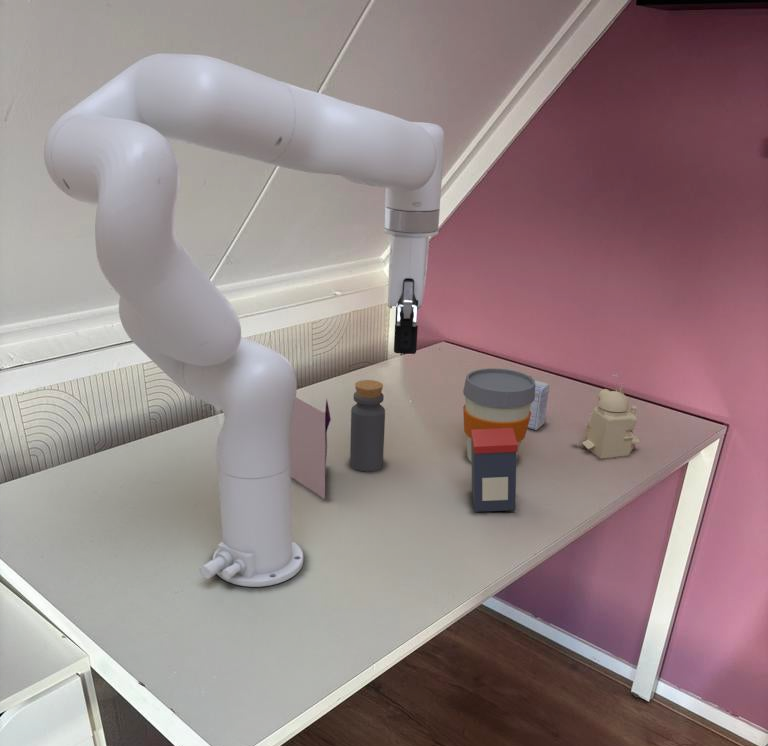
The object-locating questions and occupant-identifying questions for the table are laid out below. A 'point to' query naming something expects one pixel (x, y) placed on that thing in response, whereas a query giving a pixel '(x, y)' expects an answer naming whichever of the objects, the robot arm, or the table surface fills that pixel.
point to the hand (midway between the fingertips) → (405, 342)
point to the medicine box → (539, 405)
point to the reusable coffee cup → (497, 402)
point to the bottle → (367, 427)
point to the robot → (611, 426)
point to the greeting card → (309, 446)
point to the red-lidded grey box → (493, 469)
